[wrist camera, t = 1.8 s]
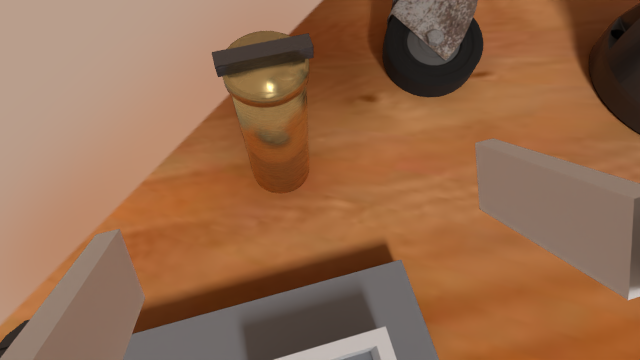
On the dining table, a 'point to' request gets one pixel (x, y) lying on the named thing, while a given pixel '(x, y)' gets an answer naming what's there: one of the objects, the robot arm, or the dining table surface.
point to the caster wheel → (432, 45)
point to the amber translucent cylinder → (271, 103)
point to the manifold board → (304, 325)
